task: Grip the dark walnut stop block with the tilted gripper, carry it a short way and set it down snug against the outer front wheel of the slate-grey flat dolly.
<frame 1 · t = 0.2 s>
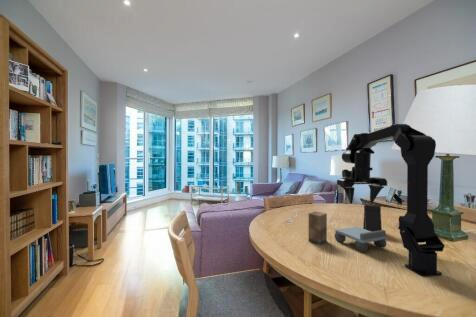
hand: (361, 203, 100), 14 cm above the table, tool pointing down, fingers open, 9 cm apart
door stopper: (372, 233, 107), on the table
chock: (317, 241, 97), on the table
dolly: (359, 244, 93), on the table
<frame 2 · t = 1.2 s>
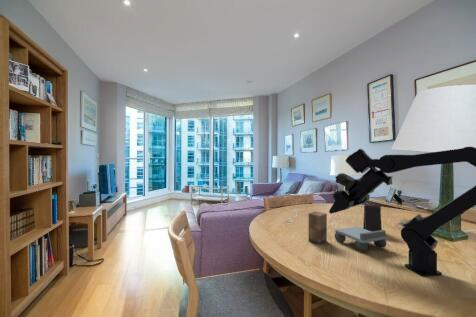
hand: (335, 210, 91), 13 cm above the table, tool tilted 45°, fingers open, 9 cm apart
nothing on the table moved.
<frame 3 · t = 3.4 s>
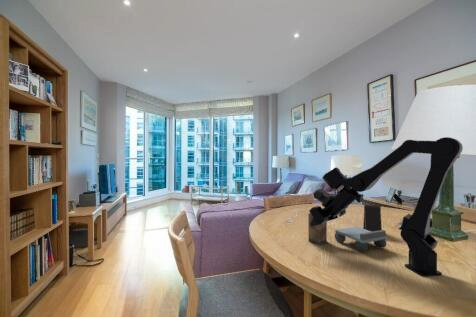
hand: (314, 223, 98), 7 cm above the table, tool tilted 45°, fingers closed on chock, 5 cm apart
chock: (317, 241, 97), on the table, touching gripper
everything else where it was.
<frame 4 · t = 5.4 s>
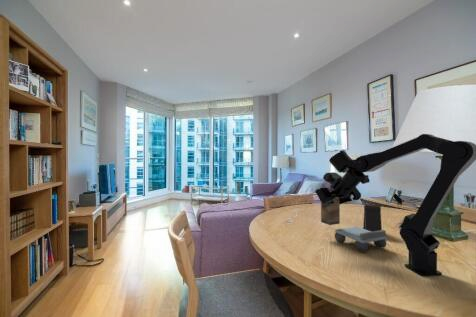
hand: (327, 206, 101), 13 cm above the table, tool tilted 45°, fingers closed on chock, 5 cm apart
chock: (330, 222, 100), point 6 cm above the table, touching gripper
everything else where it was.
when the fingers open (8 cm above the table, at t = 7.5 s): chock drops 1 cm, on the table.
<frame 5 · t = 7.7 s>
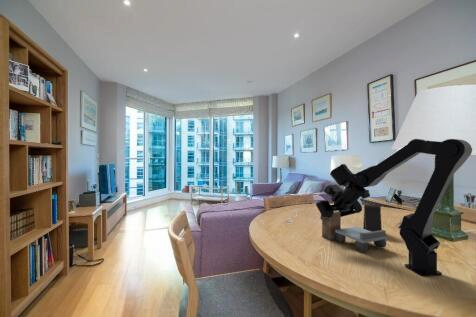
hand: (328, 218, 102), 8 cm above the table, tool tilted 45°, fingers open, 7 cm apart
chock: (331, 238, 101), on the table
everything else where it was.
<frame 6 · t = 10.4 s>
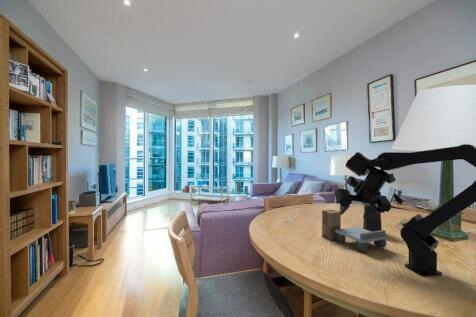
hand: (352, 215, 92), 11 cm above the table, tool tilted 35°, fingers open, 9 cm apart
nothing on the table moved.
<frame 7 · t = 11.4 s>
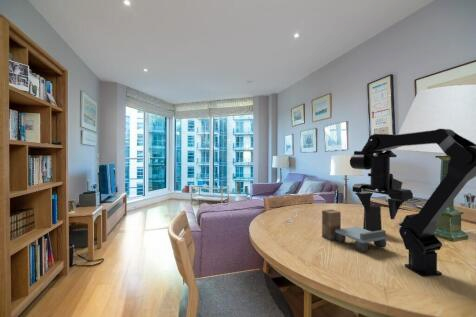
hand: (379, 215, 85), 13 cm above the table, tool pointing down, fingers open, 9 cm apart
nothing on the table moved.
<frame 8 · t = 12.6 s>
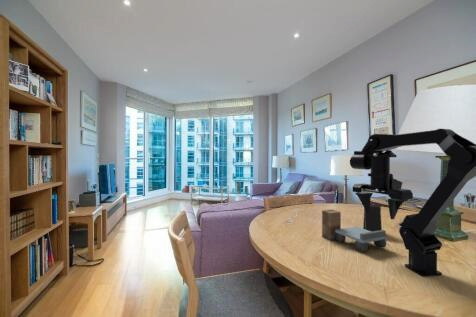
hand: (379, 215, 85), 13 cm above the table, tool pointing down, fingers open, 9 cm apart
nothing on the table moved.
at the end: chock 0.0 cm from the target spot on the table beside the dolly, on the table; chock tilted 0°; the gripper is holding nothing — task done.
